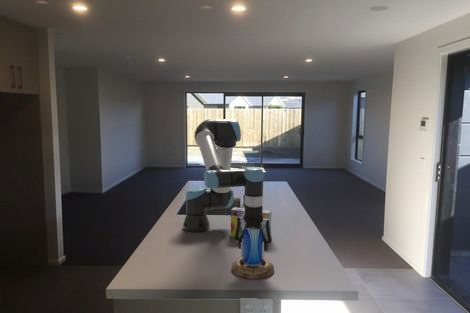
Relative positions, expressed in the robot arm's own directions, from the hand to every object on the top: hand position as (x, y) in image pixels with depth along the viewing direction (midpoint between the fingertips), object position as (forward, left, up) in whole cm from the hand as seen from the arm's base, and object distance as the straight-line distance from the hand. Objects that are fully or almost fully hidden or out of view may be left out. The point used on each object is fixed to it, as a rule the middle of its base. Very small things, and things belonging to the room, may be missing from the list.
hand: (252, 256), depth 149 cm
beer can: (0, 0, -3) cm, 3 cm away
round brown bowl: (0, 0, -6) cm, 6 cm away
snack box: (-9, +37, -6) cm, 39 cm away
